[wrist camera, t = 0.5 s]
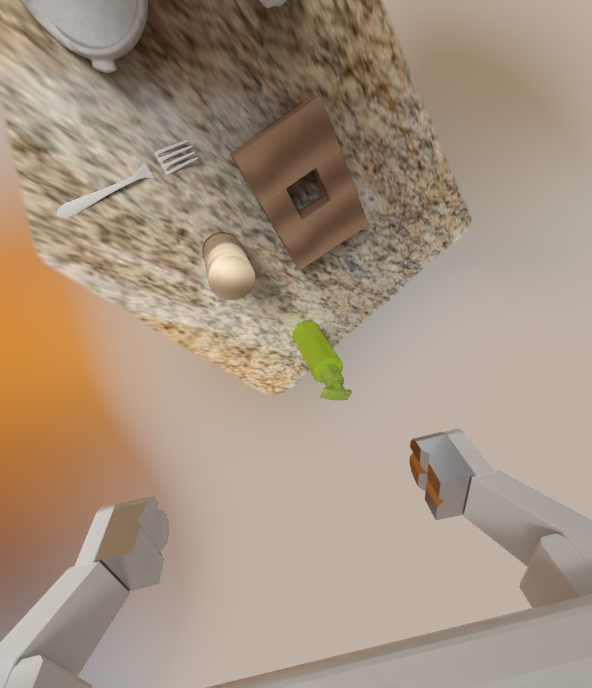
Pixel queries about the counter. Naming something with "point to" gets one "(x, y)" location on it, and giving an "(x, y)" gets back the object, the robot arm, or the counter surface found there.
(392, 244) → the counter surface
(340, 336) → the counter surface
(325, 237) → the walnut board
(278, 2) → the frog figurine
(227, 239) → the maple leg
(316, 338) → the soap dispenser
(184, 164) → the fork
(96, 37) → the dish
